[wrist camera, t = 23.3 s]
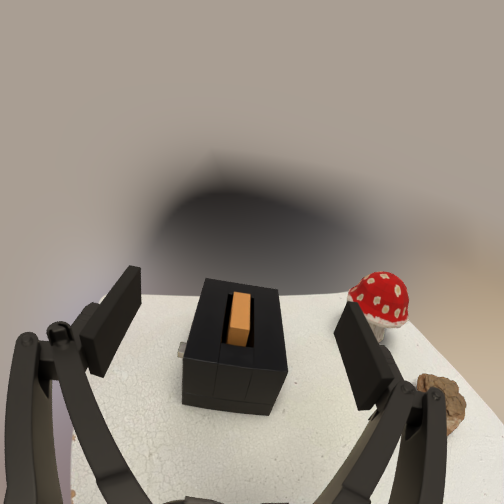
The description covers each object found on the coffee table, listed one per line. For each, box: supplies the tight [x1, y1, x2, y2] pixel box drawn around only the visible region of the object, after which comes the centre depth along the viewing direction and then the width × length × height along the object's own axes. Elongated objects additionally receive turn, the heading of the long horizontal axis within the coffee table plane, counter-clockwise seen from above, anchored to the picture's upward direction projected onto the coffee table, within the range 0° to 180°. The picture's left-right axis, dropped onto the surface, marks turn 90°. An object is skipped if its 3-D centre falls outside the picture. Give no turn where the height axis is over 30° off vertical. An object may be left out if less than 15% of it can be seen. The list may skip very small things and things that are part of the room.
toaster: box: [178, 278, 288, 416], centre depth 40 cm, size 13×18×10 cm
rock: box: [417, 374, 466, 436], centre depth 33 cm, size 13×11×5 cm
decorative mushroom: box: [347, 271, 409, 343], centre depth 50 cm, size 14×14×15 cm
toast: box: [225, 292, 250, 347], centre depth 39 cm, size 2×8×8 cm, turn 179°
